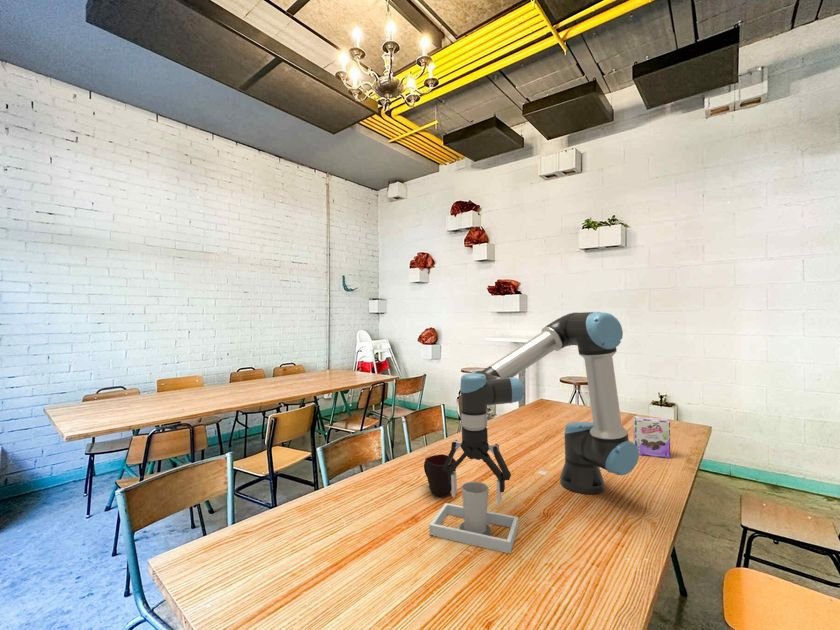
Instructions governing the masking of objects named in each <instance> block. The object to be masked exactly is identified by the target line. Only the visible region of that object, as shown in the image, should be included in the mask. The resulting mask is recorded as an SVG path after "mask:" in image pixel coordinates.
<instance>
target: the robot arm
mask: <svg viewBox="0 0 840 630" xmlns="http://www.w3.org/2000/svg"><path fill="white" fill-rule="evenodd" d="M623 331H624V330H623V327H622V324H621V322H620V321H619V320H618V318H617V317H615V316H614V315H613V314H612V313H609V312H602V311H601V312H600V311H588V312H587V311H586V312H585V311H584V312H571V313H567V314H565V315H562V316H561V317H559V318H556V319H555V320H552V322H550V323H549V324H547V325H545V326H544V327H543V328H541V332H540V333H538V334H537V335H535V336H534V337H532V338H531V339H529V340H528V341H526V342H525V343H523V344H522V345H520V346H518V347H517V348H515V349H514V350H512V351H511V352H509V353H507V354H506V355H504V356H503V357H502V358H500V359H498V360H497V361H496V362H494V363H492V364H491V365H489V366H487V367H486V368H484V369H482V370H481V371H480V370H477V371H476V370H475V371H473V372H470V373H465V374H463V375H461V377H460V388H459V392H460V403H461V404H460V407H461V410H460V411H461V412H460V413H461V426H462V427H461V441H458V440H457V439H454V440H453V441H452V442H451V447H450V451H449V453H448V455H447V456H448V457H447V459H446V461H445V463H444V465H443V468H442V471H445V472H447V473H448V483H449V484H451V486H452V490H451V498H455V496H456V495H457V493H458V484H457V482H458V481H457V472H453V471H454V470H455V469H456V470H457V468H458V467H459V466H460V464H461V463H462V462H463V461H464V460H465V459H466V458H468V459H469V460H476V461H481V460H482V461H483V462H484V463H485V464H486V465H487V467H488V469H490V470H491V472H492V473H493V475H494V476H495V477H496V478H497V480H496V503H497V504H496V505H498V506H499V505H501V503H502V500H503V497H502V493H504V492H505V489H506V486H505V485H506V481H510V479H511V477H512V474H511V472H510V470H509V468H508V466H507V464H506V462H505V460H504V458H503V455H502V454H501V452H500V446H499V444H497V443H496V444H493V445H492V444H491V445H489V441H488V428H487V426H488V406H495V405H503V404H513V403H518V402H521V401H522V399H523V398H524V395H525V394H524V384H523V382H522V381H521V380H520V379H519V378H518V377H516V376H517V375H519V374H520V373H522V372H524V371H525V370H526V369H528V368H529V367H530V366H532V365H534V364H535V363H537V362H538V361H540V360H541V359H543V358H545V357H546V356H547V355H549V354H550V353H552V352H554V351H561V350H562V349H563V348H566V347H571V346H577V350H578V351H577V352H578V355H579V356H581V357H582V358H583V359H584V365H585V371H586V374H585V375H586V380H587V386H588V387H587V388H588V393H589V402H590V408H591V416H592V422H591V421H590V422H589V421H572V422H568V423H566V425H565V427H564V464H563V467H562V471H561V472H560V475H559V479H560V481H559V482H560V485H561V486H562V487H563V488H565V489H566V490H569V491H572V492H575V493H579V494H584V495H596V494H600V493H602V492H604V490H605V481H604V477H603V475H602V471H601V469H603V470H605V471H607V472H608V473H610V474H614V475H616V476H625V475H628V474H629V473H631V472H632V471H633V470H634V469H635V467H636V466H637V464H638V462H639V458H640V457H639V456H640V455H639V451H638V448H637V446H636V445H635V444H634V443H633V441H630V440H629V432H628V429H627V428H625V427H624V426H622V425H623V424H622V418H621V410H620V404H619V397H618V389H617V382H616V374H615V366H614V358H613V357H614V355H615V354H616V353H617V352H618V351H617V349H618V348H617V347H618V346H620V344H621V343H622V341H621V340H622V339H623V335H624V333H623ZM460 448H461V450H462V451H463V453H462V454H461V456H459V458H458V459H456V462H455V463H454V465H453V466H452V467H449V465H450V463H451V460H452V458H454V456H455V455H456V454H455V453H456V452H457V450H458V449H460ZM489 451H491V453H492V454H493V456H494V458H495V460H496V463H497V464H498V466H497V464H496V463H495V461H494V460H493V459H492V458H491V456H490V454H489V453H488V452H489ZM600 468H601V469H600Z"/></svg>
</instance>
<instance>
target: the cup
mask: <svg viewBox="0 0 840 630" xmlns="http://www.w3.org/2000/svg"><path fill="white" fill-rule="evenodd" d="M460 487H461V497H462V504H463V505H462V506H463V508H464V518H463V520H464V521H463V522H465V530H466V531H470V532H474V533H479V534H481V533H484V532H485V531H486V524H487V522H486V518H487V511H488V501H489V491H490V488H489V486H488V485H487V484H486V483H483V482H480V481H467V482H464V483H462V485H461V486H460Z"/></svg>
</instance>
